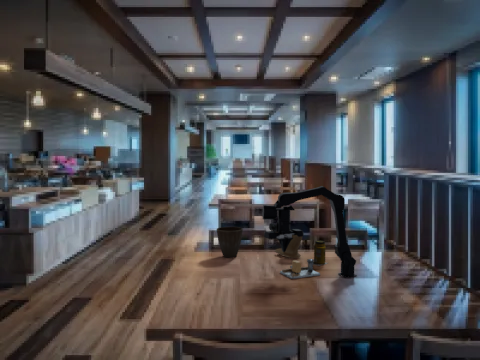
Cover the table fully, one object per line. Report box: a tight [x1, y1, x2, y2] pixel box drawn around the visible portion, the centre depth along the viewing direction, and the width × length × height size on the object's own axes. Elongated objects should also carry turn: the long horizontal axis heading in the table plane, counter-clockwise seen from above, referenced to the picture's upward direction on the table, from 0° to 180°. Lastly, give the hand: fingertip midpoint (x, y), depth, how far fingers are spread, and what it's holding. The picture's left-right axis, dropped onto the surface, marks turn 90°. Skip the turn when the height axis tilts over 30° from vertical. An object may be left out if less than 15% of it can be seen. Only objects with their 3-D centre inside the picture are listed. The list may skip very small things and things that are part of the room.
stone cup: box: [274, 235, 303, 259], centre depth 247 cm, size 15×12×15 cm
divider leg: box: [289, 259, 302, 273], centre depth 211 cm, size 6×2×5 cm, turn 23°
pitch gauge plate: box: [279, 258, 321, 280], centre depth 210 cm, size 11×16×6 cm
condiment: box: [313, 240, 329, 267], centre depth 231 cm, size 7×8×12 cm
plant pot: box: [216, 226, 243, 259], centre depth 246 cm, size 15×15×16 cm
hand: (283, 251), depth 206 cm, fingers closed
